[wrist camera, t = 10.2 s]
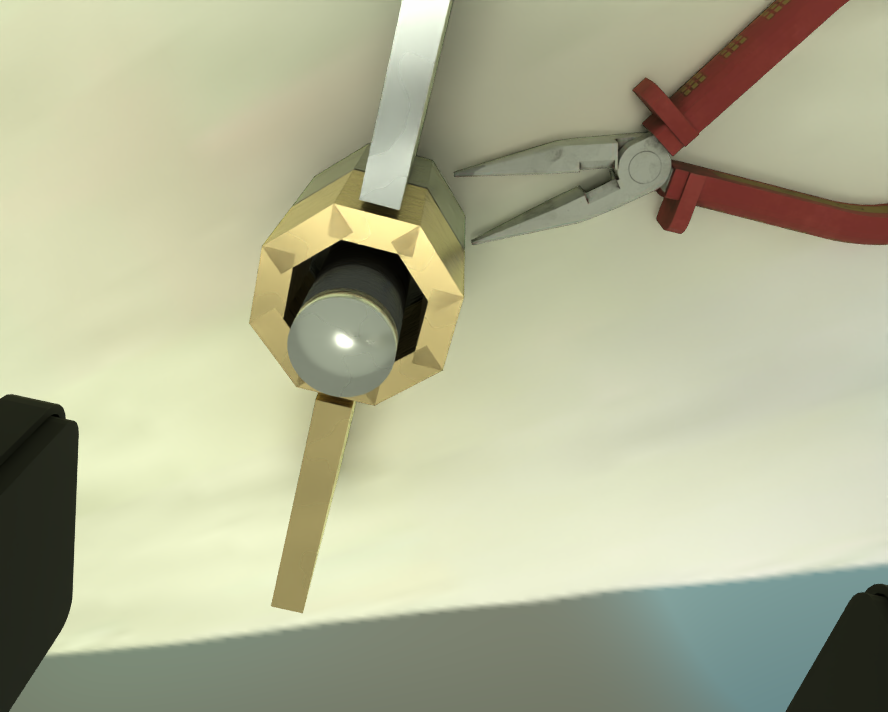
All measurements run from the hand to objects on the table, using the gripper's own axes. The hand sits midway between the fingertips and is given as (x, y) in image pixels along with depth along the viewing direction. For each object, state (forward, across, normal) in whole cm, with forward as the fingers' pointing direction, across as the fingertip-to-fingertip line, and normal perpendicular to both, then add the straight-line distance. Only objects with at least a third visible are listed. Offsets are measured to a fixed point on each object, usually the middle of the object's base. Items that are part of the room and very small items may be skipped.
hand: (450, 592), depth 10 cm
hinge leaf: (+24, +3, +8) cm, 26 cm away
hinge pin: (+25, +3, +3) cm, 25 cm away
